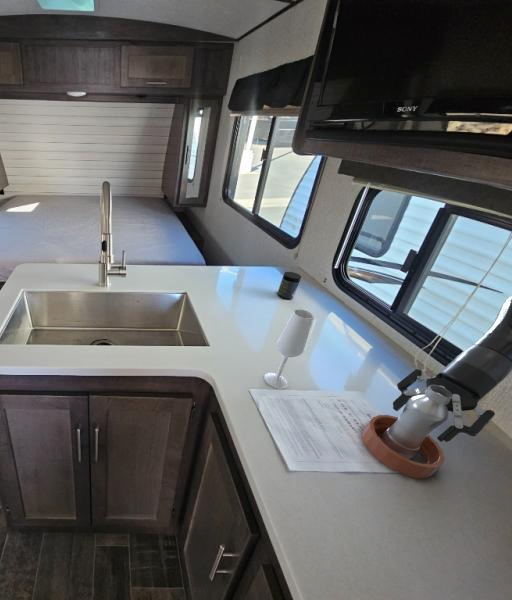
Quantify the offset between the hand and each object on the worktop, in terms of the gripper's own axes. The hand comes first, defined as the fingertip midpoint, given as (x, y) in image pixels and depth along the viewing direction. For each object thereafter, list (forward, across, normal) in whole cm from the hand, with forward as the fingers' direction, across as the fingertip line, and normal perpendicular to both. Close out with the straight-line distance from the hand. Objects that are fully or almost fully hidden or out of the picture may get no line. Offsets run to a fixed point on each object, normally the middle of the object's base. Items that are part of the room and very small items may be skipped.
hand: (415, 423), depth 70 cm
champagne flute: (+12, +28, -4) cm, 31 cm away
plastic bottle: (+7, 0, -9) cm, 11 cm away
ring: (+7, 0, -9) cm, 12 cm away
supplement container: (-20, +66, -36) cm, 78 cm away
